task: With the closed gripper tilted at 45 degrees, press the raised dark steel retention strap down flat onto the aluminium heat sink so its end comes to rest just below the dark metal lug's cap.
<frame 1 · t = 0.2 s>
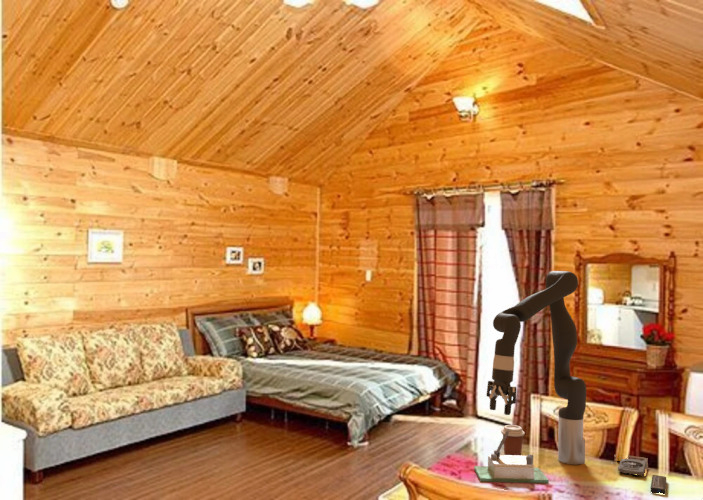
hand: (499, 412, 220), 23 cm above the table, tool pointing down, fingers open, 8 cm apart
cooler: (510, 476, 219), on the table
coffee cup: (512, 457, 240), on the table
retention strap: (501, 443, 220), point 11 cm above the table, hinge at 65.0°
multiport hub: (658, 489, 210), on the table
graphics card: (629, 471, 228), on the table
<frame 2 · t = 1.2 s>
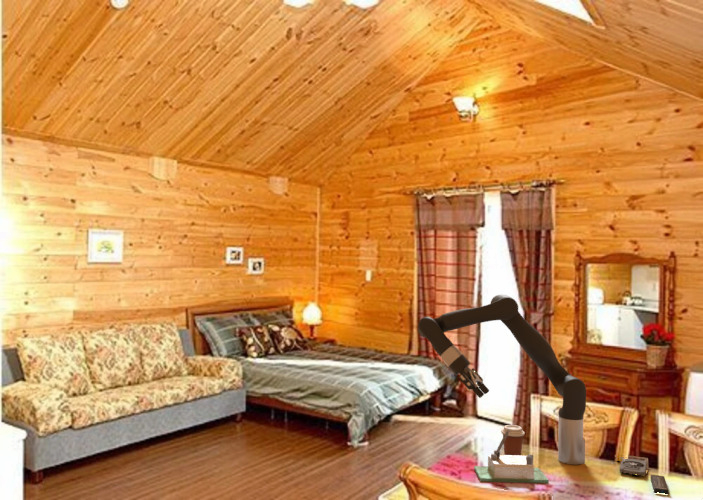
hand: (484, 394, 223), 29 cm above the table, tool tilted 45°, fingers open, 7 cm apart
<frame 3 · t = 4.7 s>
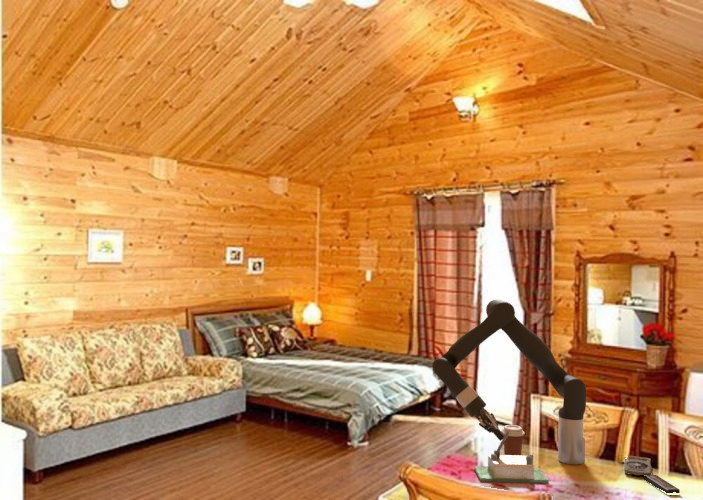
hand: (502, 438, 220), 13 cm above the table, tool tilted 45°, fingers closed
retention strap: (501, 443, 220), point 11 cm above the table, hinge at 64.1°, touching gripper
graphics card: (634, 472, 227), on the table
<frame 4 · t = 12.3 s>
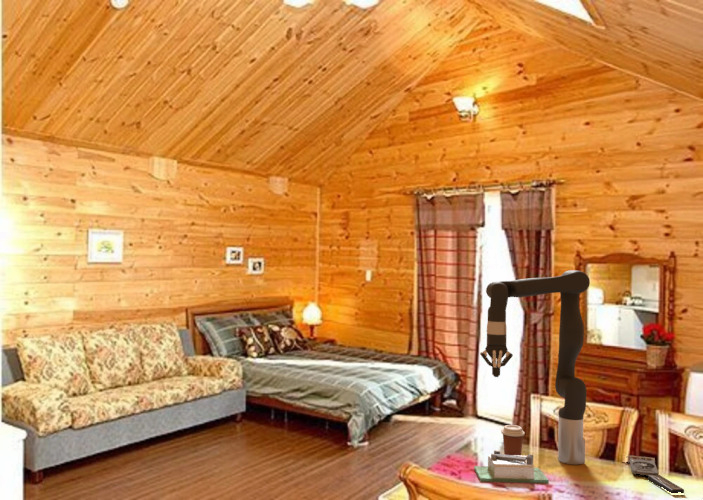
hand: (496, 376, 236), 33 cm above the table, tool pointing down, fingers closed
retention strap: (509, 457, 219), point 7 cm above the table, hinge at 2.8°
multiport hub: (665, 489, 210), on the table
graphics card: (640, 472, 227), on the table
everything else where it was.
at the end: retention strap at +3° (first picture: +65°); coffee cup moved 0.2 cm from its start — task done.
